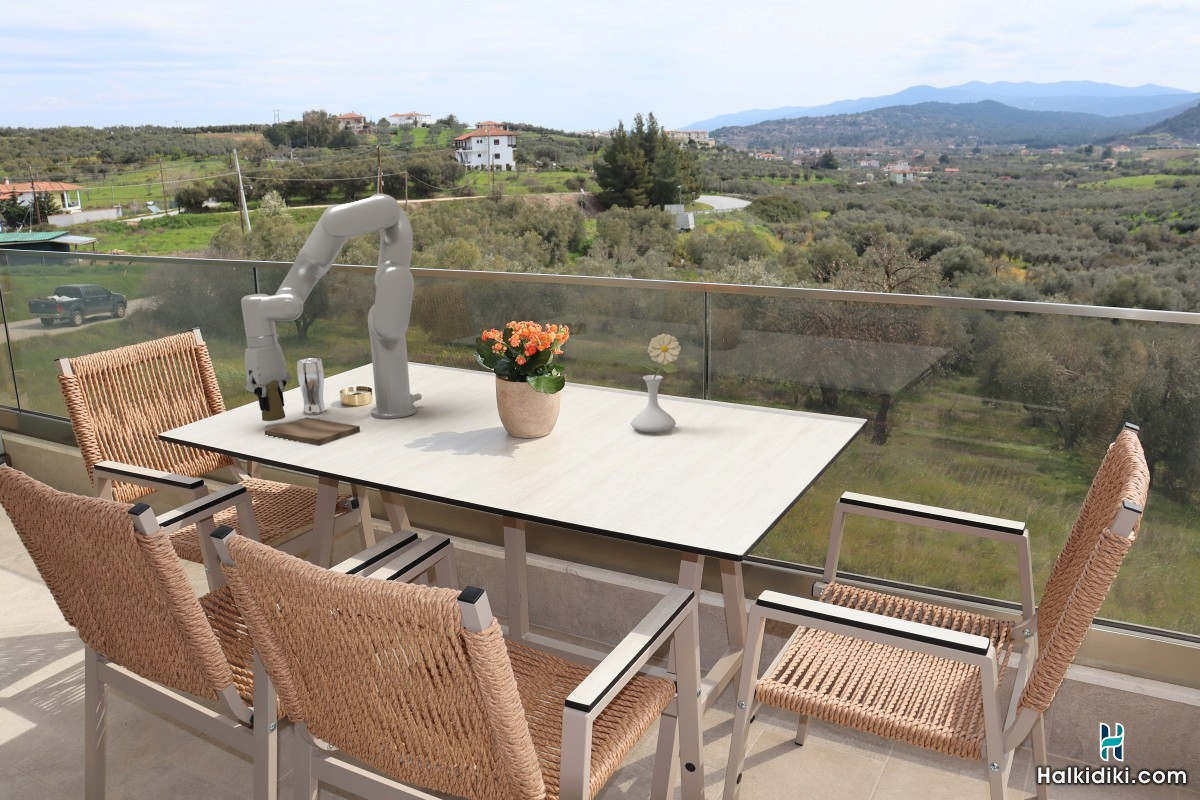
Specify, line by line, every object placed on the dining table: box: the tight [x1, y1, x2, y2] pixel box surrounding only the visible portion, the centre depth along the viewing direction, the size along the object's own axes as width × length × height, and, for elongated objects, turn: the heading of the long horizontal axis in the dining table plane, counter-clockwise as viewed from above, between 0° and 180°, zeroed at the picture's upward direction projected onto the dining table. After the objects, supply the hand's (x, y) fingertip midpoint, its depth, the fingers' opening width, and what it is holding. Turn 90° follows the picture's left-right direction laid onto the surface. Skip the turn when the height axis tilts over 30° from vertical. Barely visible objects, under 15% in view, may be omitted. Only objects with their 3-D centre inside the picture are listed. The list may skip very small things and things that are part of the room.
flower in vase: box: [630, 333, 682, 433], centre depth 229 cm, size 13×11×25 cm
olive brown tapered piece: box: [259, 380, 286, 422], centre depth 244 cm, size 6×6×11 cm
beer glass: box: [296, 357, 327, 415], centre depth 258 cm, size 7×7×15 cm
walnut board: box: [264, 417, 361, 446], centre depth 237 cm, size 14×20×2 cm
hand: (272, 407), depth 245 cm, fingers closed on olive brown tapered piece, 4 cm apart
